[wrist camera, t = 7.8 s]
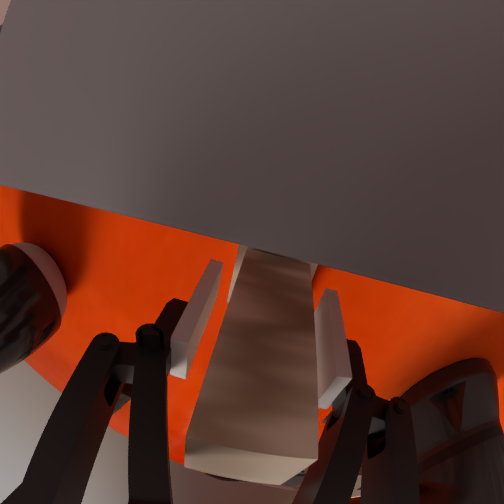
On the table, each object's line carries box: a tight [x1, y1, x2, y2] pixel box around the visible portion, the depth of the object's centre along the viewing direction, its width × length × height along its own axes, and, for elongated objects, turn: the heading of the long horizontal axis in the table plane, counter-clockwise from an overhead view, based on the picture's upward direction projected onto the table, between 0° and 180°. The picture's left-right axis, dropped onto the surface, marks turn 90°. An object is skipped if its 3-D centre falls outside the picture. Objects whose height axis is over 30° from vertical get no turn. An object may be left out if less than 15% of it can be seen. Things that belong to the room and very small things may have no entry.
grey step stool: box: [0, 0, 504, 313], centre depth 8 cm, size 20×8×12 cm, turn 78°
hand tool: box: [112, 383, 132, 415], centre depth 30 cm, size 19×4×5 cm, turn 140°
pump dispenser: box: [0, 242, 67, 373], centre depth 16 cm, size 10×10×15 cm
